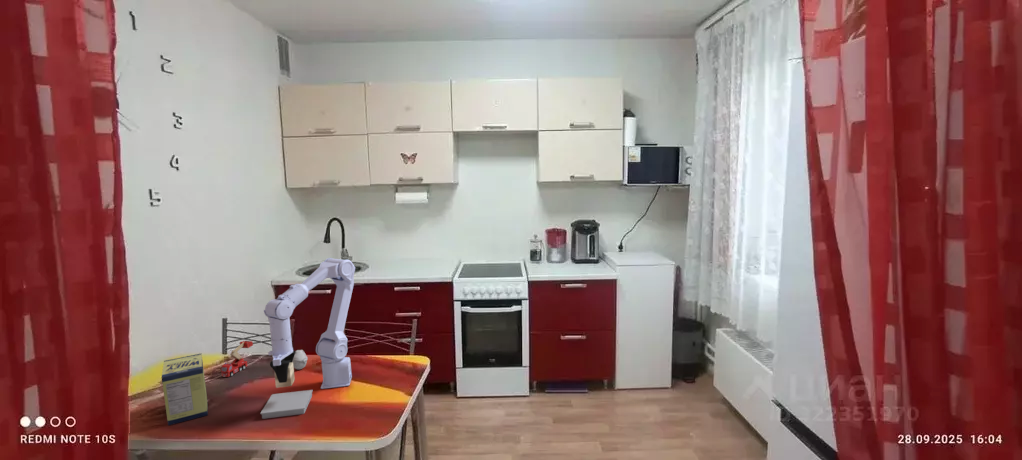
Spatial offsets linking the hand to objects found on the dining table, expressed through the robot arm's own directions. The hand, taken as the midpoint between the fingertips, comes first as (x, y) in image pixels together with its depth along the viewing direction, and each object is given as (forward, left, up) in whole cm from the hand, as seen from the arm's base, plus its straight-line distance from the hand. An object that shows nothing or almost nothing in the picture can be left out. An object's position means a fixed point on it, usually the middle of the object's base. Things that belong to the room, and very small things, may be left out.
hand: (285, 378), depth 151 cm
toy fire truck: (+26, -36, -10) cm, 45 cm away
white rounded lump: (+3, -31, -10) cm, 32 cm away
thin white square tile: (0, 0, -10) cm, 10 cm away
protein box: (+31, -6, -10) cm, 33 cm away
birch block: (0, 0, -2) cm, 2 cm away
